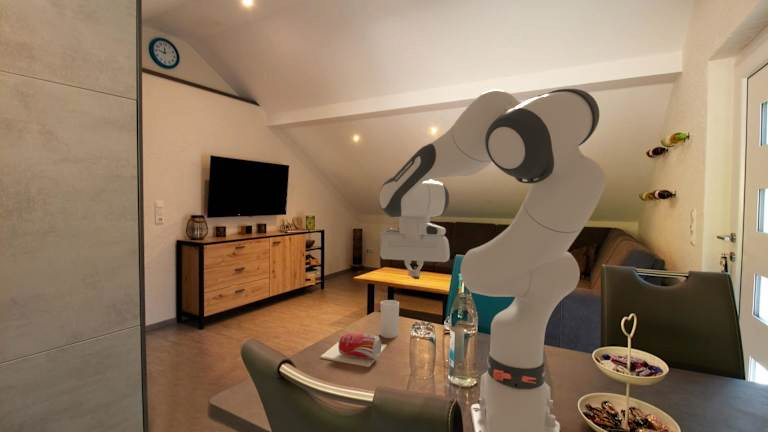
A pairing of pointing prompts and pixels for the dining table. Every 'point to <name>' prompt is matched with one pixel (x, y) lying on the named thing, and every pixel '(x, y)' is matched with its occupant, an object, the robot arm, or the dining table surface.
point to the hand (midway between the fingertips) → (413, 276)
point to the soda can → (360, 345)
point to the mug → (389, 318)
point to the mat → (337, 356)
